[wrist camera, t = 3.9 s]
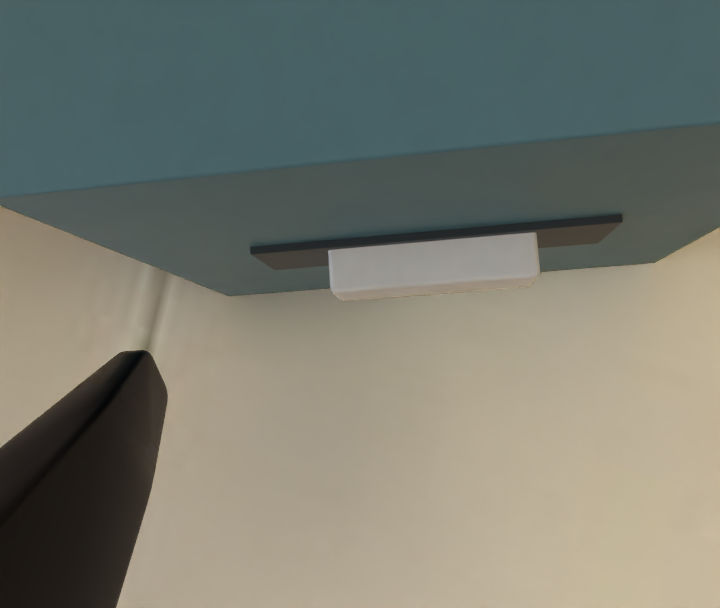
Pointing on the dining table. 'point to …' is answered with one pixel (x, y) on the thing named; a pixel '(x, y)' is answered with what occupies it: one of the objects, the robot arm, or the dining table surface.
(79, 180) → the small tissue box
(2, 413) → the dining table surface
